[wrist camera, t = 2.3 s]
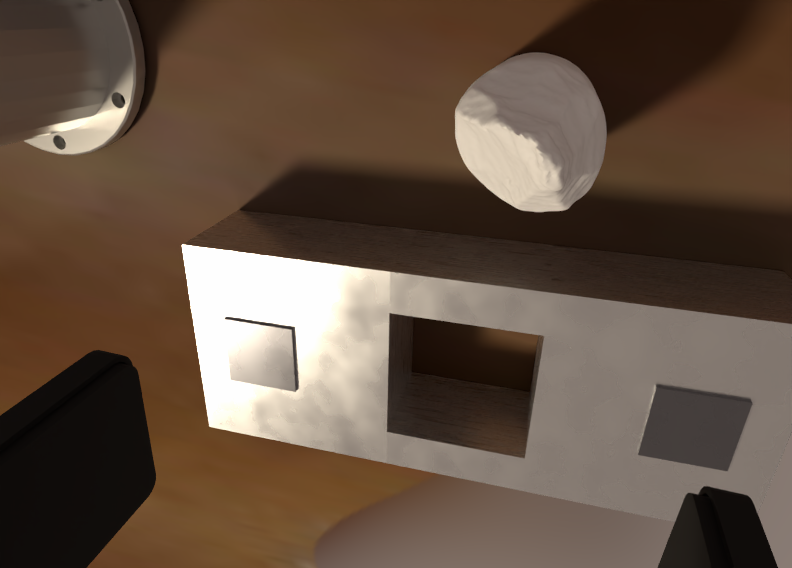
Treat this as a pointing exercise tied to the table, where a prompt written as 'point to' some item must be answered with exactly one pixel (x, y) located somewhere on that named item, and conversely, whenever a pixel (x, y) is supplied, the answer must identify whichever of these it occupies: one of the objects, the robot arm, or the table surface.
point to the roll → (533, 132)
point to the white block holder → (485, 404)
